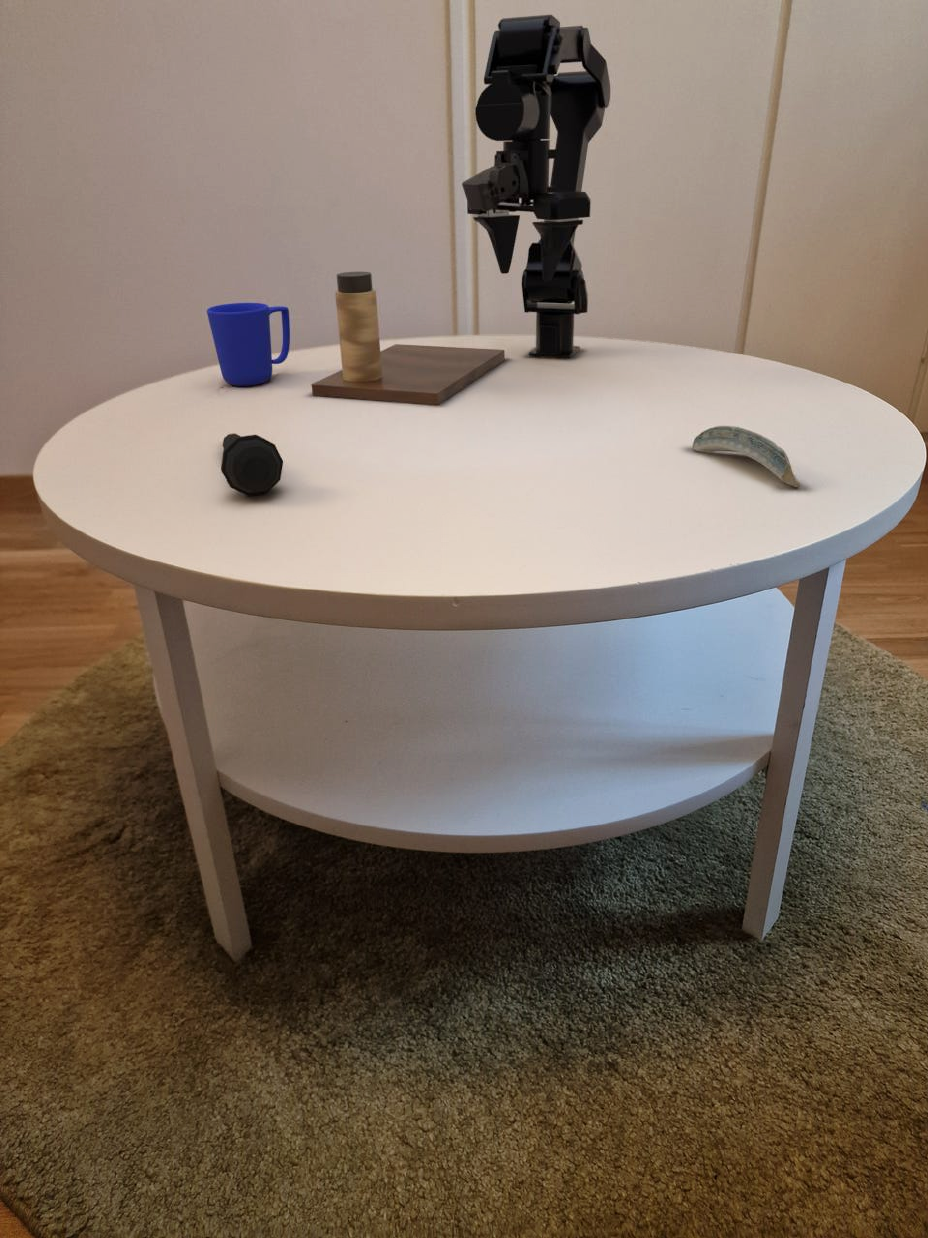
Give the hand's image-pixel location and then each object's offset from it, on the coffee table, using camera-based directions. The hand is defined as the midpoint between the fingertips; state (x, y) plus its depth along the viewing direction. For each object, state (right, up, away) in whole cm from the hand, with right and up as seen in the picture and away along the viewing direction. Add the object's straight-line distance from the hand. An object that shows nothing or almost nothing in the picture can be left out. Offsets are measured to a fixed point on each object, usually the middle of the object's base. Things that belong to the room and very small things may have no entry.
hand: (525, 276), depth 112 cm
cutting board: (-15, -11, +8) cm, 20 cm away
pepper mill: (-22, -13, +2) cm, 25 cm away
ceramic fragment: (+19, -30, -28) cm, 46 cm away
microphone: (-30, -30, -25) cm, 49 cm away
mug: (-37, -11, +9) cm, 40 cm away
